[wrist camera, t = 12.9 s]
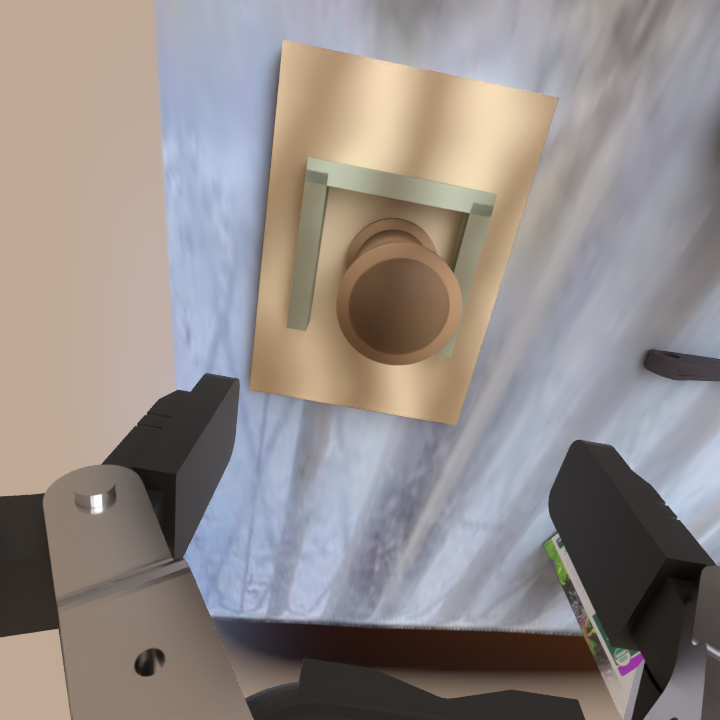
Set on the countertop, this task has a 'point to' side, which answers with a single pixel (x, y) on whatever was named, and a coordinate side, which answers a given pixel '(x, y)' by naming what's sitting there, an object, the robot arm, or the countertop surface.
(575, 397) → the countertop surface
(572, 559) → the robot arm
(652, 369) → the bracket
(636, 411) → the countertop surface
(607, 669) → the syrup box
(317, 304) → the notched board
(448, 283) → the wooden bobbin
